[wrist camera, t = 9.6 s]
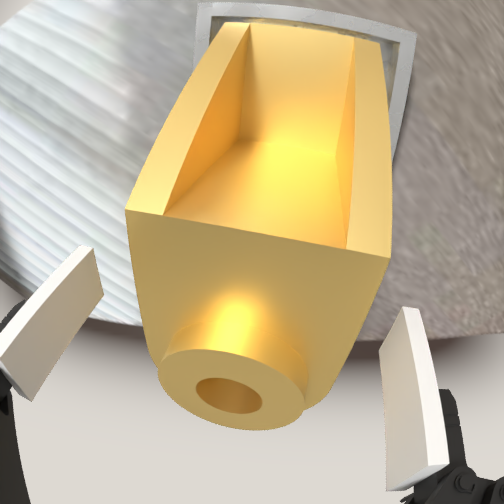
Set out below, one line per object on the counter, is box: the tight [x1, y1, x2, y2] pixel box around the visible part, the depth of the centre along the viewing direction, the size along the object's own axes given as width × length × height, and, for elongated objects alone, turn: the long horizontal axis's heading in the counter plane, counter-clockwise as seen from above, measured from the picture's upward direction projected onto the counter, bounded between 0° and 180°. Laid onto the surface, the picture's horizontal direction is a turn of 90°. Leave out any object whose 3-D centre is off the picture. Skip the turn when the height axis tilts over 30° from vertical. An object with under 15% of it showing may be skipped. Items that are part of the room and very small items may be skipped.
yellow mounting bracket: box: [125, 22, 392, 430], centre depth 17 cm, size 20×9×16 cm, turn 175°
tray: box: [192, 3, 417, 161], centre depth 24 cm, size 14×26×4 cm, turn 175°
